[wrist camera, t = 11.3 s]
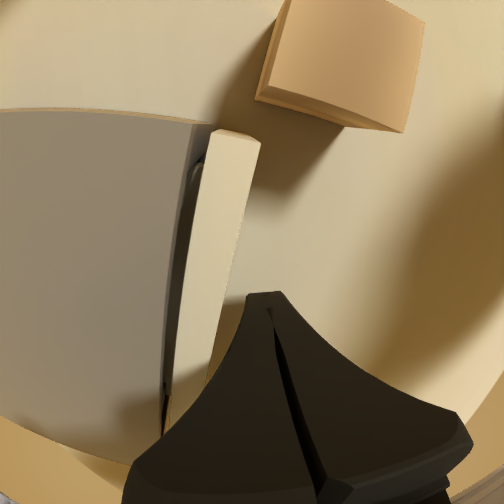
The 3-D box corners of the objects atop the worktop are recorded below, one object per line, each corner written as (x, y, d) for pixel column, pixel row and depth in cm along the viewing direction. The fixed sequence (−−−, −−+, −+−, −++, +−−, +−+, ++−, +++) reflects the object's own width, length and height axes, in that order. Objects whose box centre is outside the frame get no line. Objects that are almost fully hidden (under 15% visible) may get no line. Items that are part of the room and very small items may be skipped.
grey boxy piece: (213, 123, 8) (192, 123, 4) (173, 378, 13) (160, 471, 8) (-17, 111, 7) (-107, 130, 2) (3, 327, 11) (-40, 390, 6)
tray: (247, 134, 8) (260, 143, 4) (194, 387, 12) (188, 462, 9) (-10, 112, 6) (-85, 127, 3) (12, 336, 11) (-22, 389, 7)
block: (364, 47, 7) (424, 22, 4) (345, 126, 8) (403, 133, 5) (276, 17, 7) (301, -33, 4) (254, 99, 8) (268, 85, 5)
